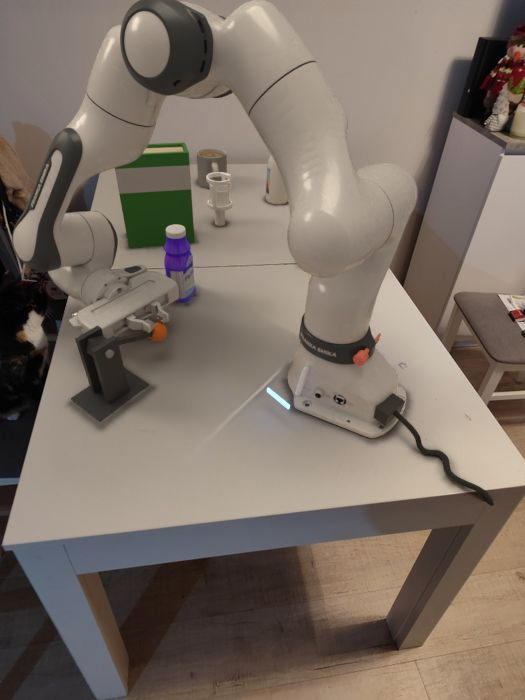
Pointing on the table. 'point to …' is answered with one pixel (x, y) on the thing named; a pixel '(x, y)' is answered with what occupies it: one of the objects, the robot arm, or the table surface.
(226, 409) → the table surface
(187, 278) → the bottle
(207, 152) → the coffee mug
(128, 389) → the dark grey lever stand
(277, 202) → the milk bottle
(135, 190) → the hardback book
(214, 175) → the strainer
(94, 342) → the switch
